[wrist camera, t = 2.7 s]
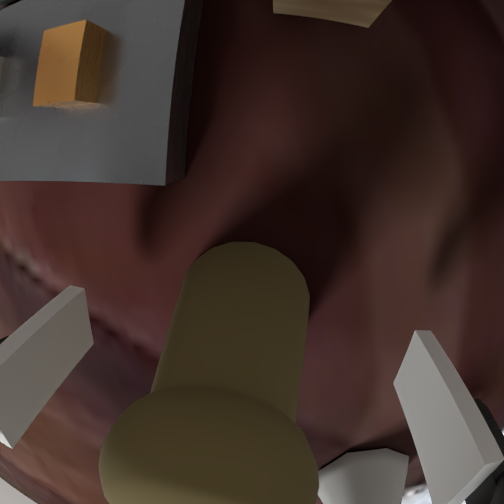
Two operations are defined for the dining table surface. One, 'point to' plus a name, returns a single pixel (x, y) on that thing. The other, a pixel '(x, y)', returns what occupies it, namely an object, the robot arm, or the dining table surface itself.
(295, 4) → the oak post
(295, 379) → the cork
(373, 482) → the flask
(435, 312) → the dining table surface
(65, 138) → the breaker panel
